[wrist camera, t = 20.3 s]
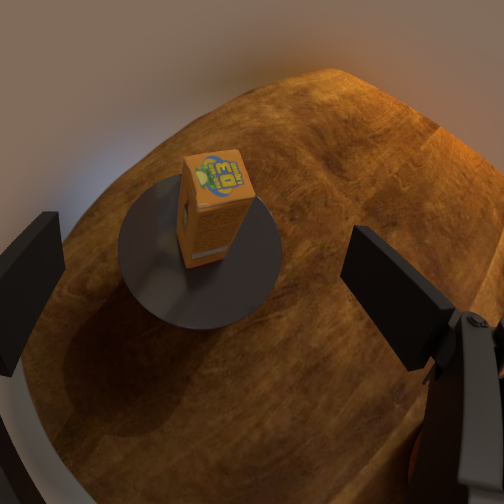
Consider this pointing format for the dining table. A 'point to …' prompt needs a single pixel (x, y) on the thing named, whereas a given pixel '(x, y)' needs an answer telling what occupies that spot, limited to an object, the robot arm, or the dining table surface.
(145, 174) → the dining table surface
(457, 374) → the robot arm
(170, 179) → the jar
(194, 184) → the supplement box
